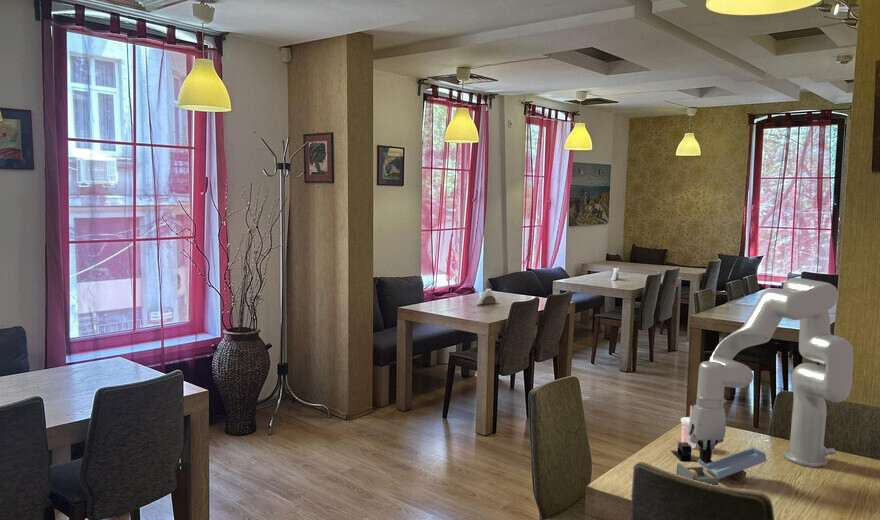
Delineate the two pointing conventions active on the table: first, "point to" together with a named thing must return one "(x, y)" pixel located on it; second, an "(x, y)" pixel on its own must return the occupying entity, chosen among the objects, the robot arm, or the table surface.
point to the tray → (701, 475)
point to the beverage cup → (686, 430)
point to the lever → (735, 462)
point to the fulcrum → (738, 478)
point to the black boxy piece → (684, 452)
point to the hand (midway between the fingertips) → (705, 460)
